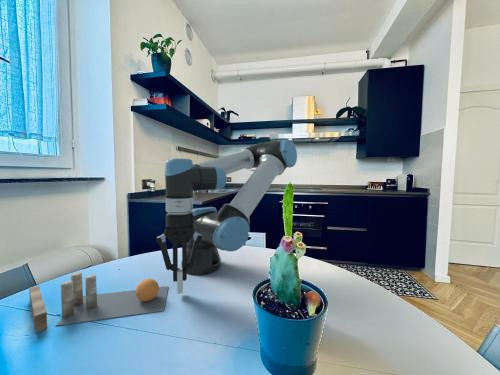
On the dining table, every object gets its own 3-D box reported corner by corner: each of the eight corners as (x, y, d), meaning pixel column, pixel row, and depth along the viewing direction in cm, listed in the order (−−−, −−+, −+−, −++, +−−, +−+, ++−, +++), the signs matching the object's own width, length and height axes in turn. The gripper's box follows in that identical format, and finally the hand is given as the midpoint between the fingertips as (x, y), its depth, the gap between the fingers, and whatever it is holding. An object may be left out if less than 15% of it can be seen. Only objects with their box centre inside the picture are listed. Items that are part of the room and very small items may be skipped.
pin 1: (76, 311, 58) (74, 280, 58) (71, 317, 56) (69, 284, 56) (65, 313, 58) (63, 281, 57) (60, 319, 55) (58, 286, 55)
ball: (160, 293, 68) (159, 274, 67) (157, 304, 62) (157, 283, 62) (138, 295, 66) (138, 276, 66) (133, 307, 60) (133, 286, 60)
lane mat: (168, 286, 72) (168, 286, 72) (163, 311, 59) (163, 310, 59) (81, 296, 65) (81, 296, 65) (55, 326, 53) (55, 325, 53)
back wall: (29, 301, 63) (29, 287, 63) (39, 298, 64) (38, 285, 64) (35, 332, 51) (34, 315, 50) (47, 328, 52) (46, 311, 52)
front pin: (98, 304, 62) (97, 274, 61) (95, 309, 60) (93, 278, 59) (88, 305, 61) (87, 275, 61) (84, 310, 59) (83, 279, 58)
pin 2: (84, 301, 63) (83, 272, 63) (80, 306, 61) (79, 275, 60) (74, 302, 63) (73, 273, 62) (70, 307, 60) (69, 276, 60)
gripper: (153, 215, 59) (154, 301, 61) (203, 213, 63) (203, 294, 64) (157, 210, 67) (158, 287, 68) (201, 209, 70) (202, 282, 71)
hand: (180, 291), depth 66 cm, fingers closed
